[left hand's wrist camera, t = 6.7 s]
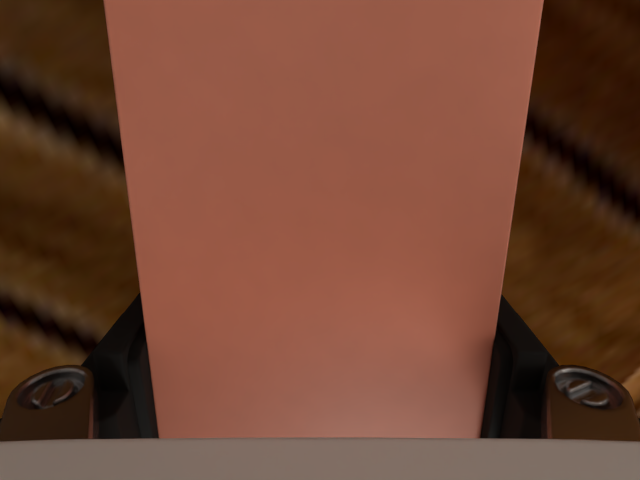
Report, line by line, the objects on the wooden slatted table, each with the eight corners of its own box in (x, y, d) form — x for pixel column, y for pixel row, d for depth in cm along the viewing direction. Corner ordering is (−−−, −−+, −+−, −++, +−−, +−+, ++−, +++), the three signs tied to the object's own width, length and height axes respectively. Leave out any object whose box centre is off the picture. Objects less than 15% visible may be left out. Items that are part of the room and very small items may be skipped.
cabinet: (207, -280, 12) (-47, -1164, 4) (435, -277, 12) (710, -1138, 4) (241, 345, 18) (174, 565, 10) (394, 345, 18) (462, 564, 10)
